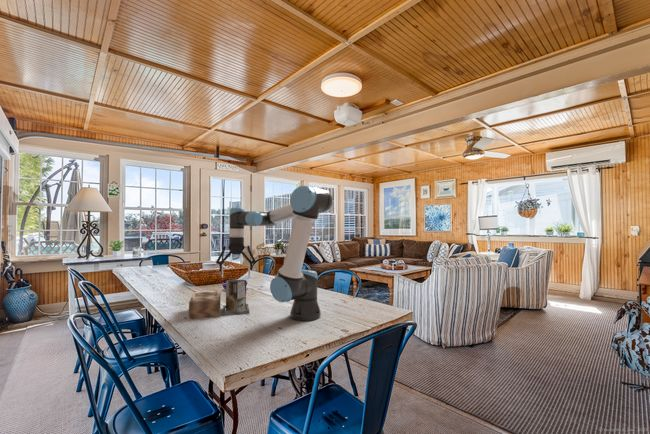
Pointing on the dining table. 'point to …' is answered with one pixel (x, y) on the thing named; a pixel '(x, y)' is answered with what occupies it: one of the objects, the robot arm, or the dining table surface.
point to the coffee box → (235, 295)
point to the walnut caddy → (209, 305)
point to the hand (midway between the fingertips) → (235, 276)
